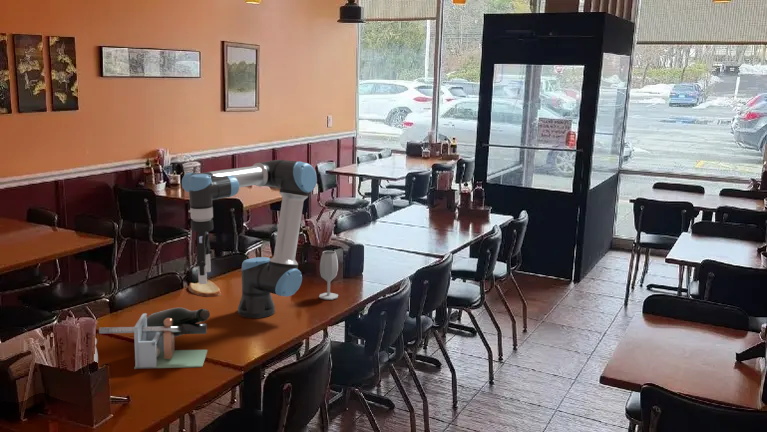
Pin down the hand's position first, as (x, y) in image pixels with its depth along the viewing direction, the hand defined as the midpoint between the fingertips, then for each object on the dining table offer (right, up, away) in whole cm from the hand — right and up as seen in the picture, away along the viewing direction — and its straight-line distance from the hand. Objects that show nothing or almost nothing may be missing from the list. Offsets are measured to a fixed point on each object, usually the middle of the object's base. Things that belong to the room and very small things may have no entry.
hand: (204, 277), depth 241 cm
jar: (-31, -32, -29) cm, 53 cm away
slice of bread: (-18, -13, +72) cm, 75 cm away
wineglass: (+38, -15, +67) cm, 78 cm away
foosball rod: (-15, -26, -7) cm, 31 cm away
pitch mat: (-10, -28, -6) cm, 30 cm away
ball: (-16, -25, -8) cm, 30 cm away
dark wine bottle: (-21, -19, +11) cm, 30 cm away
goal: (-17, -28, -7) cm, 33 cm away
